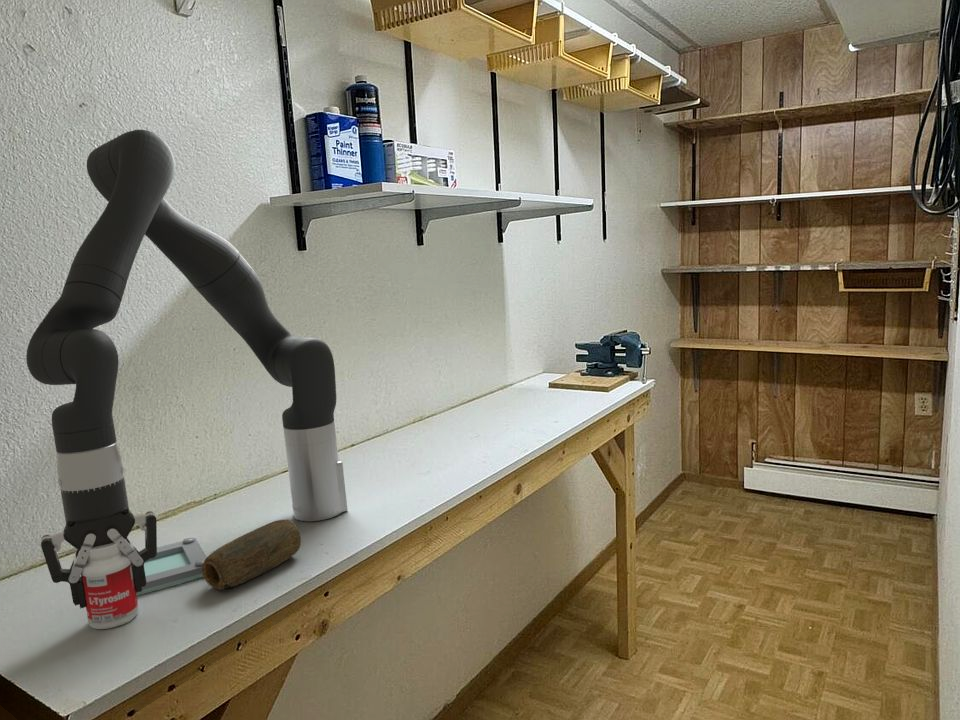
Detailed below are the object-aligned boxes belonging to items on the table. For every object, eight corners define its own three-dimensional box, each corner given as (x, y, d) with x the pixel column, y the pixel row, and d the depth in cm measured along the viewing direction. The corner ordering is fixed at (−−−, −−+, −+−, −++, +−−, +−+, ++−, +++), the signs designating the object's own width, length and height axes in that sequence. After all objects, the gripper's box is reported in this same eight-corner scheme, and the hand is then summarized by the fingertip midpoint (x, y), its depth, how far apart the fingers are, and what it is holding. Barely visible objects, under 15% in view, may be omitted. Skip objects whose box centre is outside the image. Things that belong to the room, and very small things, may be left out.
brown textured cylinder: (275, 551, 116) (270, 512, 115) (306, 557, 113) (302, 517, 112) (199, 591, 103) (193, 548, 102) (231, 600, 100) (225, 555, 99)
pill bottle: (86, 635, 92) (73, 555, 91) (91, 615, 98) (78, 540, 96) (138, 622, 95) (126, 544, 93) (140, 604, 100) (128, 530, 99)
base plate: (196, 546, 121) (195, 535, 120) (212, 574, 109) (211, 562, 108) (104, 570, 113) (103, 558, 113) (111, 602, 102) (109, 589, 101)
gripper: (147, 462, 101) (164, 573, 103) (29, 485, 93) (49, 604, 96) (154, 473, 94) (171, 591, 96) (27, 499, 87) (49, 626, 89)
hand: (111, 597), depth 96 cm, fingers closed on pill bottle, 6 cm apart
